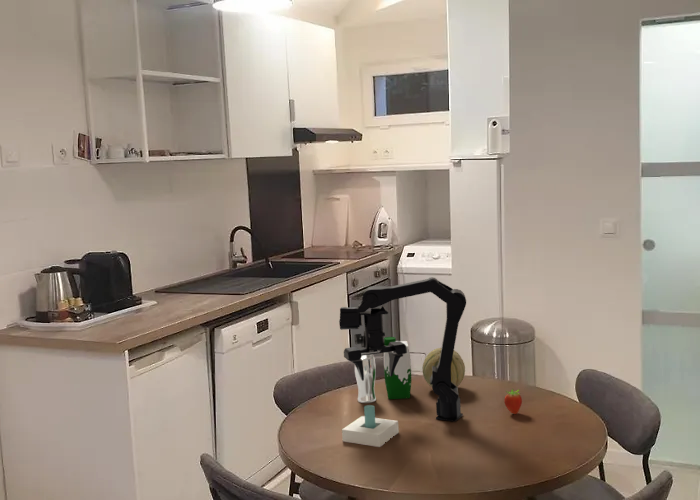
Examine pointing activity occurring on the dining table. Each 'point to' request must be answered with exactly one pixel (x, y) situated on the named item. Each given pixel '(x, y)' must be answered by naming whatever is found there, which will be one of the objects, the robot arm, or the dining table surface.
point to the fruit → (513, 401)
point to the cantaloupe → (456, 366)
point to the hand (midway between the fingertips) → (376, 378)
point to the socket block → (370, 432)
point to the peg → (369, 416)
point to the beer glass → (366, 380)
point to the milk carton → (398, 374)
